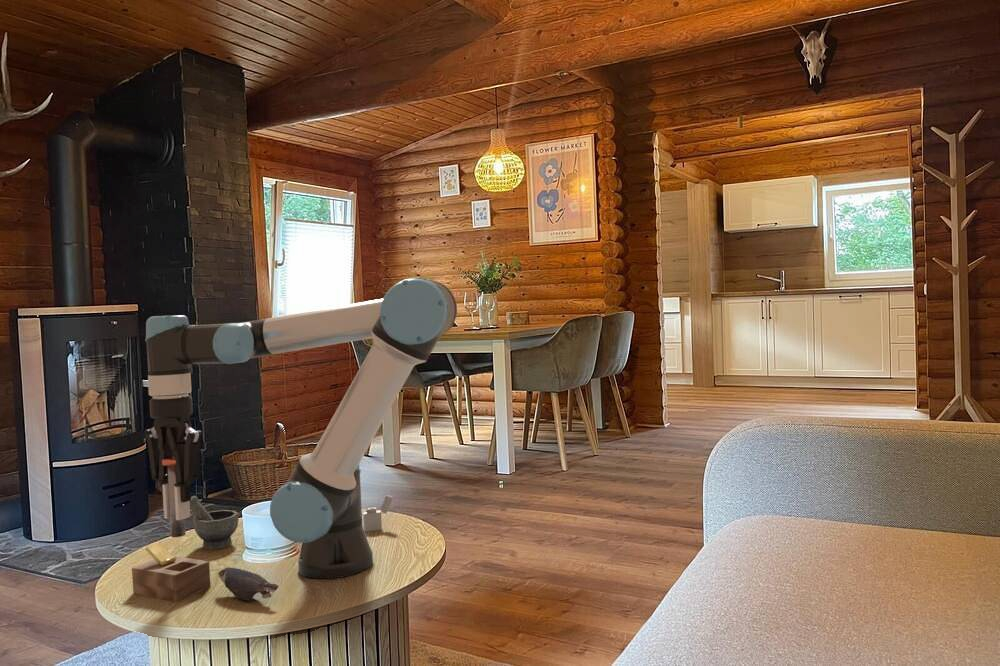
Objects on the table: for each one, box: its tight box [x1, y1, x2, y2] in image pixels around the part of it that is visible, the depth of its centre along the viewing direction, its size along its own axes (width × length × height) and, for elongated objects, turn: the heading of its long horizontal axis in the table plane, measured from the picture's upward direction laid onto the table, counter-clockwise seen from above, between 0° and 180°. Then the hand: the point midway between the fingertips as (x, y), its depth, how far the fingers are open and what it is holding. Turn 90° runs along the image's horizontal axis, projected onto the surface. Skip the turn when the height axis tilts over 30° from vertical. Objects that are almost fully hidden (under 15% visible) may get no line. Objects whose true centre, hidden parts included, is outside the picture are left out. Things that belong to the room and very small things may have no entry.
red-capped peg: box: [162, 457, 186, 538], centre depth 147 cm, size 4×4×15 cm
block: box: [131, 555, 211, 602], centre depth 149 cm, size 12×8×5 cm, turn 64°
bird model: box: [217, 566, 279, 602], centre depth 143 cm, size 4×17×5 cm, turn 56°
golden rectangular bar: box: [145, 541, 176, 567], centre depth 150 cm, size 5×3×1 cm
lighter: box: [362, 494, 394, 533], centre depth 184 cm, size 7×2×8 cm, turn 107°
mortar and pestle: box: [190, 495, 239, 550], centre depth 177 cm, size 11×9×12 cm
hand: (177, 517), depth 147 cm, fingers closed on red-capped peg, 2 cm apart
